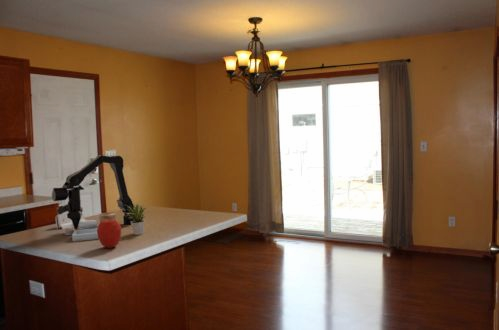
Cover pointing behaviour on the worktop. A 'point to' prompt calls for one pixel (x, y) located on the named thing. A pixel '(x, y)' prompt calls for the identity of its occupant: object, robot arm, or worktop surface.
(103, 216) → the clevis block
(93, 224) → the beige and orange bar
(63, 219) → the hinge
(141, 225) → the house plant
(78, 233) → the tray
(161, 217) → the worktop surface
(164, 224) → the worktop surface
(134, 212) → the robot arm
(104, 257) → the worktop surface
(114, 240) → the red jar
